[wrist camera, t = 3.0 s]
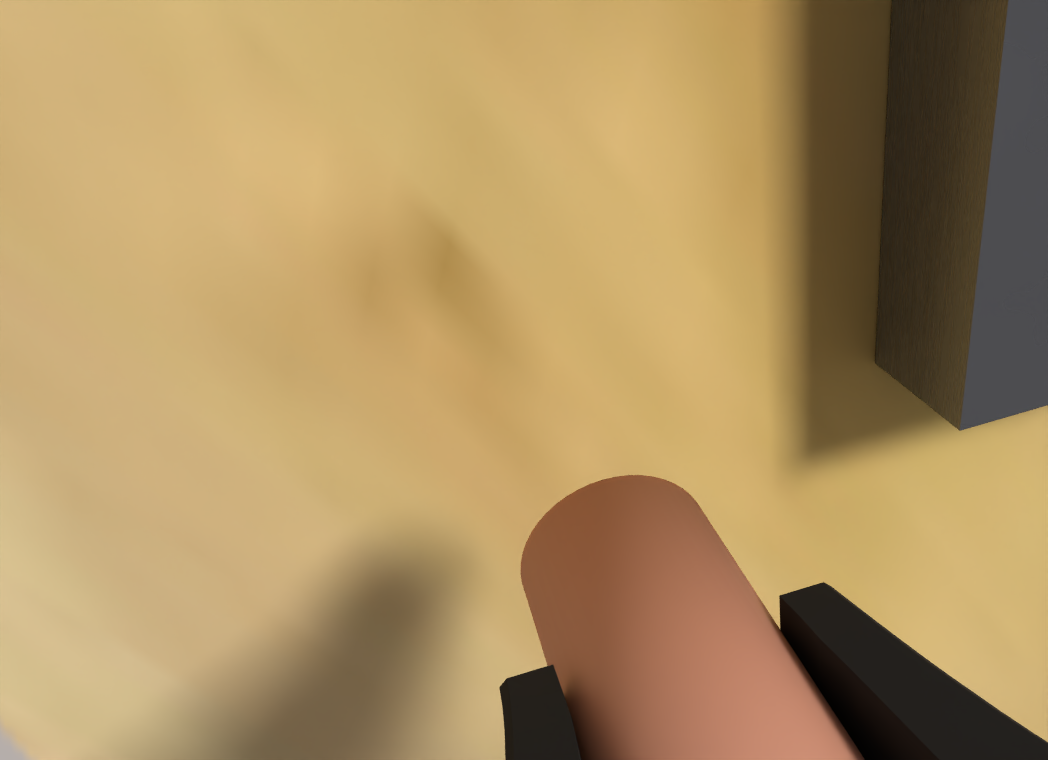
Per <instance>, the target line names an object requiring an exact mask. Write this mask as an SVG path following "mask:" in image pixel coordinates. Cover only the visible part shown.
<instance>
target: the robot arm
mask: <svg viewBox="0 0 1048 760" xmlns="http://www.w3.org/2000/svg"><path fill="white" fill-rule="evenodd" d="M780 630H781V632H782V633H783V635H784V636H785V638H786V640H787V641H788V643H789V644H790V646H791V647H792V649H793V650H794V652H795V653H796V655H797V656H798V658H799V659H800V661H801V662H802V664H803V666H804V667H805V669H806V670H807V672H808V673H809V675H810V676H811V678H812V679H813V681H814V682H815V684H816V685H817V687H818V689H819V690H820V692H821V693H822V695H823V696H824V698H825V699H826V701H827V702H828V704H829V705H830V707H831V708H832V710H833V711H834V713H835V715H836V716H837V718H838V719H839V721H840V722H841V724H842V725H843V727H844V728H845V730H846V731H847V733H848V734H849V736H850V738H851V739H852V741H853V742H854V744H855V745H856V747H857V748H858V750H859V751H860V753H861V754H862V756H863V757H864V759H865V760H1048V742H1046V741H1045V740H1043V739H1042V738H1040V737H1039V736H1037V735H1035V734H1034V733H1032V732H1031V731H1029V730H1028V729H1026V728H1025V727H1023V726H1022V725H1020V724H1019V723H1017V722H1016V721H1014V720H1013V719H1011V718H1010V717H1008V716H1007V715H1005V714H1004V713H1002V712H1001V711H999V710H998V709H997V708H995V707H994V706H992V705H991V704H989V703H988V702H987V701H985V700H984V699H982V698H981V697H979V696H978V695H976V694H975V693H974V692H972V691H971V690H969V689H968V688H966V687H965V686H964V685H962V684H961V683H959V682H958V681H956V680H955V679H953V678H952V677H951V676H949V675H948V674H946V673H945V672H944V671H942V670H941V669H939V668H938V667H937V666H935V665H934V664H933V663H931V662H930V661H928V660H927V659H926V658H924V657H923V656H922V655H920V654H919V653H918V652H916V651H915V650H914V649H912V648H911V647H910V646H908V645H907V644H906V643H904V642H903V641H901V640H900V639H899V638H897V637H896V636H895V635H893V634H892V633H891V632H890V631H888V630H887V629H886V628H884V627H883V626H882V625H880V624H879V623H878V622H876V621H875V620H874V619H872V618H871V617H870V616H869V615H867V614H866V613H865V612H863V611H862V610H861V609H859V608H858V607H857V606H856V605H854V604H853V603H852V602H850V601H849V600H848V599H847V598H845V597H844V596H843V595H841V594H840V593H839V592H838V591H836V590H835V589H834V588H832V587H831V586H829V585H828V584H826V583H824V582H823V583H820V584H816V585H813V586H810V587H806V588H803V589H800V590H797V591H793V592H790V593H787V594H783V595H780ZM500 694H501V700H502V706H503V716H504V728H505V756H506V760H581V756H580V752H579V748H578V743H577V739H576V735H575V730H574V726H573V722H572V717H571V714H570V711H569V708H568V706H567V703H566V700H565V697H564V694H563V691H562V688H561V685H560V682H559V679H558V676H557V673H556V671H555V668H554V665H550V666H547V667H543V668H540V669H537V670H533V671H530V672H527V673H523V674H520V675H517V676H514V677H510V678H507V679H506V680H505V681H504V683H503V684H502V685H501V686H500Z"/></svg>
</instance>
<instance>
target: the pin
mask: <svg viewBox="0 0 1048 760" xmlns="http://www.w3.org/2000/svg"><path fill="white" fill-rule="evenodd" d="M521 579H522V584H523V587H524V591H525V594H526V597H527V600H528V604H529V607H530V610H531V613H532V616H533V620H534V623H535V626H536V629H537V633H538V636H539V639H540V642H541V646H542V649H543V652H544V655H545V658H546V662H547V665H548V666H550V665H554V668H555V671H556V673H557V676H558V679H559V682H560V685H561V688H562V691H563V694H564V697H565V700H566V703H567V706H568V708H569V711H570V714H571V717H572V722H573V726H574V730H575V735H576V739H577V743H578V748H579V752H580V756H581V760H865V759H864V757H863V756H862V754H861V753H860V751H859V750H858V748H857V747H856V745H855V744H854V742H853V741H852V739H851V738H850V736H849V734H848V733H847V731H846V730H845V728H844V727H843V725H842V724H841V722H840V721H839V719H838V718H837V716H836V715H835V713H834V711H833V710H832V708H831V707H830V705H829V704H828V702H827V701H826V699H825V698H824V696H823V695H822V693H821V692H820V690H819V689H818V687H817V685H816V684H815V682H814V681H813V679H812V678H811V676H810V675H809V673H808V672H807V670H806V669H805V667H804V666H803V664H802V662H801V661H800V659H799V658H798V656H797V655H796V653H795V652H794V650H793V649H792V647H791V646H790V644H789V643H788V641H787V640H786V638H785V636H784V635H783V633H782V632H781V630H780V629H779V627H778V626H777V624H776V623H775V621H774V620H773V618H772V617H771V615H770V614H769V612H768V610H767V609H766V607H765V606H764V604H763V603H762V601H761V600H760V598H759V597H758V595H757V594H756V592H755V591H754V589H753V587H752V586H751V584H750V583H749V581H748V580H747V578H746V577H745V575H744V574H743V572H742V571H741V569H740V568H739V566H738V565H737V563H736V561H735V560H734V558H733V557H732V555H731V554H730V552H729V551H728V549H727V548H726V546H725V545H724V543H723V542H722V540H721V538H720V537H719V535H718V534H717V532H716V531H715V529H714V528H713V526H712V525H711V523H710V522H709V520H708V519H707V517H706V516H705V514H704V512H703V511H702V509H701V508H700V506H699V505H698V503H697V502H696V501H695V500H694V498H693V497H692V496H691V495H690V494H689V493H688V492H686V491H685V490H684V489H683V488H681V487H679V486H678V485H676V484H674V483H672V482H669V481H667V480H664V479H660V478H656V477H651V476H643V475H627V476H619V477H613V478H609V479H604V480H601V481H598V482H595V483H592V484H589V485H587V486H585V487H583V488H581V489H578V490H577V491H575V492H573V493H572V494H570V495H568V496H567V497H565V498H564V499H562V500H561V501H560V502H558V503H557V504H556V505H555V506H554V507H552V508H551V509H550V510H549V511H548V512H547V513H546V514H545V515H544V516H543V518H542V519H541V520H540V521H539V522H538V524H537V525H536V526H535V528H534V529H533V531H532V532H531V534H530V536H529V538H528V540H527V542H526V545H525V548H524V551H523V554H522V560H521Z"/></svg>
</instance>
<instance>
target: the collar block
mask: <svg viewBox="0 0 1048 760" xmlns="http://www.w3.org/2000/svg"><path fill="white" fill-rule="evenodd" d="M875 363H876V364H877V365H878V366H879V367H881V368H882V369H883V370H884V371H886V372H887V373H888V374H889V375H891V376H892V377H893V378H894V379H896V380H897V381H898V382H899V383H901V384H902V385H903V386H904V387H906V388H907V389H908V390H909V391H911V392H912V393H913V394H914V395H916V396H917V397H918V398H919V399H921V400H922V401H923V402H924V403H926V404H927V405H928V406H929V407H931V408H932V409H933V410H935V411H936V412H937V413H938V414H940V415H941V416H942V417H943V418H945V419H946V420H947V421H948V422H950V423H951V424H952V425H953V426H955V427H956V428H957V429H958V430H964V429H967V428H971V427H974V426H978V425H981V424H984V423H988V422H991V421H995V420H998V419H1002V418H1005V417H1009V416H1012V415H1015V414H1019V413H1022V412H1026V411H1029V410H1033V409H1036V408H1039V407H1043V406H1046V405H1048V0H892V16H891V37H890V59H889V80H888V102H887V123H886V144H885V166H884V187H883V209H882V230H881V251H880V273H879V294H878V315H877V337H876V358H875Z"/></svg>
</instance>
